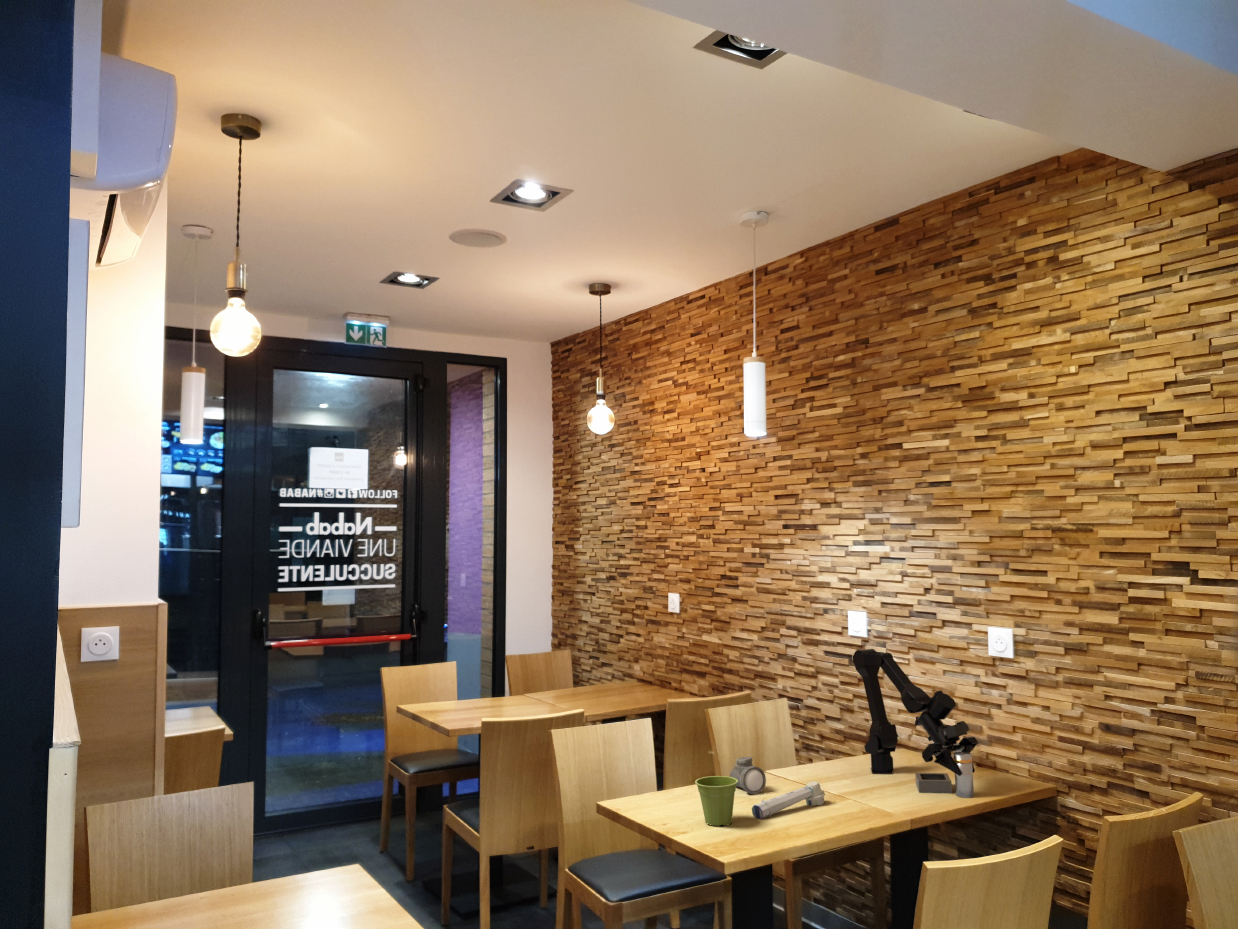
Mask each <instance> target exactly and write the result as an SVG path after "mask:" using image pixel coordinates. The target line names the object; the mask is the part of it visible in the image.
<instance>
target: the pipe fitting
mask: <svg viewBox="0 0 1238 929" xmlns="http://www.w3.org/2000/svg"><path fill="white" fill-rule="evenodd" d="M735 761H736V762H735V765H734V768H732V769H731V770H730V772H729V775H728V777H733V778H736V779H737V780H738V783H737V784H736V788H741V789H743V791H745V792H746V793H747V794H750V795H758V794H760V793H761V792H762V791H764V789H765V788H766V785H767V777H766V773H765V772H764V770H763V769H762V768H761V767H758V766H755V765H754V764H753V757H752V756H742V757H738V758H737V759H736V758H735Z"/></svg>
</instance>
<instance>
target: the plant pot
mask: <svg viewBox="0 0 1238 929" xmlns="http://www.w3.org/2000/svg"><path fill="white" fill-rule="evenodd" d="M694 783H695V785H696V786H697V790H698V793H699V797H700V801H701V806H702V811H703V816H704V821H705V823H706V824H707V823H708V824H711V825H710V826H713V825H715V826H714V827H720V826H728V825H731V824H732V822H733V814H734V813H733V812H734V802H735V801H734V800H735V792H736V788H737V787H736V784H737V783H738V780H737V779H736V778H733V777H729V776H726V775H724V776H722V775H713V776H712V775H711V776H710V775H709V776H703V777H699V778H697V779H695V782H694ZM708 824H707V825H708Z"/></svg>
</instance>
